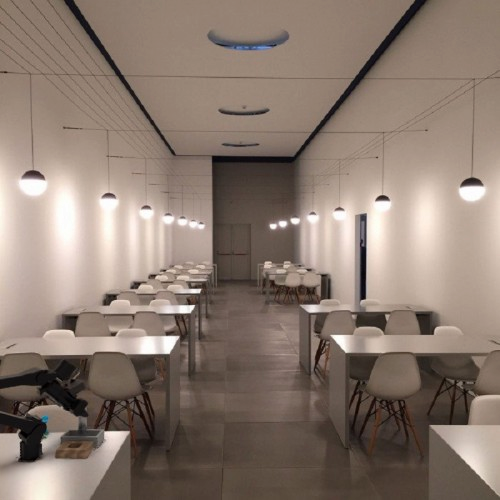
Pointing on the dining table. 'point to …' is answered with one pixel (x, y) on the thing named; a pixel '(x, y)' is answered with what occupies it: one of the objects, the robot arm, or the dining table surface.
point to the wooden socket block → (74, 449)
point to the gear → (45, 422)
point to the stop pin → (82, 424)
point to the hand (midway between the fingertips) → (85, 415)
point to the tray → (84, 436)
